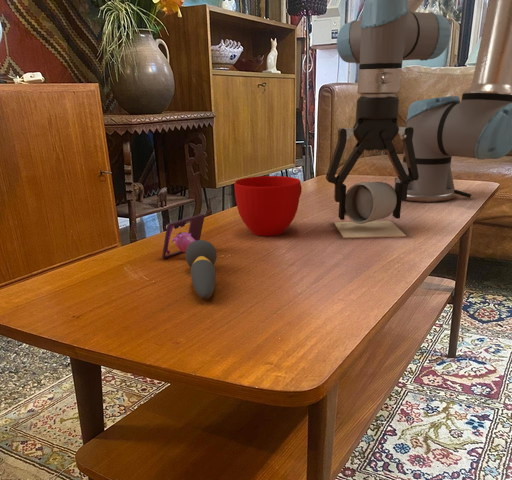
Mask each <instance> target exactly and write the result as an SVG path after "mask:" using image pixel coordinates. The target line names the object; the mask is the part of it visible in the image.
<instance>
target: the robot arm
mask: <svg viewBox="0 0 512 480" xmlns="http://www.w3.org/2000/svg"><path fill="white" fill-rule="evenodd" d="M424 1H425V0H364V2H363V8H362V15H361V18H359V20H356V19H355V20H354V19H353V20H352V21H349V22H346V23H344V24H343V25H342V26H341V27H340V29H339V31H338V33H337V36H336V51H337V53H338V56H339V58H340V59H341V60H342V61H343V62H345V63H348V64H358V65H359V66H358V78H357V94H358V95H359V97H358V98H357V99H356V113H355V121H354V125H353V126H352V127H349V128H344V127H340V128H338V129H337V141H336V142H337V143H336V145H335V148H334V152H333V154H332V157H331V159H330V164H329V166H328V169H327V172H326V175H325V180H326V181H327V182H328V183H330V184H333V185H334V196H333V197H334V199H333V200H334V201H335V202H336V203H338V218H339V220H340V221H345V217H346V215H345V202H346V193H347V185H346V184H345V181H346V179H347V178H348V176H349V174H350V173H351V171H352V170H353V168H354V166H355V165H356V163H357V162H358V161H359V158H360V157H361V156H362V155H363V154H364V152H365V151H367V152H368V151H375V150H377V151H384V152H385V154H386V155H387V157H388V159H389V162H390V163H391V165H392V168H393V170H394V172H395V174H396V175H397V177H394V184H393V186H392V187H393V188H394V190H395V192H396V195H397V205H396V208H395V210H394V211H393V212H392V214H391V215H392V217H393V218H394V219H396V220H397V219H398V220H399V219H401V210H402V202H403V201H409V202H419V203H436V202H445V201H449V200H453V199H454V198H455V195H459V196H462V197H465V198H468V199H471V197H472V194H471V193H469V192H466V191H465V192H464V191H462V190H459V189H456V188H455V183H454V179H453V172H452V158H453V157H458V158H468V159H477V160H482V161H483V160H499V159H501V158H503V157H505V156H506V155H508V154H509V153H510V151H512V0H488V2H487V8H486V13H485V17H484V23H483V27H482V33H481V36H480V37H481V38H480V42H479V46H478V47H479V48H478V52H477V56H476V60H475V61H476V62H475V67H474V71H473V76H472V81H471V84H470V86H469V87H467V88H466V89H465V90H464V91H463V92H462V94H461V99H460V97H459V95H450V96H449V95H448V96H440V97H433V98H425V99H419V100H415V101H413V102H411V103H410V105H409V106H408V110H407V115H406V120H405V126H399V124H398V115H399V114H398V113H399V104H400V99H399V96H398V97H397V94H399V93H400V91H401V81H402V68H403V61H428V60H435V59H437V58H439V57H440V56H441V55H442V54H443V53H444V52H445V51H446V49H447V48H448V45H449V43H450V39H451V33H452V32H451V25H450V22H449V21H448V19H447V18H446V17H445V16H443V15H442V14H437V13H434V11H433V12H432V11H431V12H421V11H417V10H418V9H419V7H420V6H421V5H422V4H423V2H424ZM352 135H353V136H354V138H355V140H356V141H357V142H356V143H355V145H354V147H353V148H352V151H351V153H350V154H349V156H348V157H347V159H346V161H345V162H344V164H343V165H342V167H341V169H340V170H339V172H338V174H337V171H338V168H339V166H340V163H341V160H342V157H343V154H344V151H345V148H346V145H347V141H349V140H350V139H351V136H352ZM397 135H399V138H400V139H401V140H402V147H403V157H402V161H401V160H400V158H399V156H398V153H397V151H396V148H395V145H394V144H393V140H394V139H395V138H396V136H397ZM336 174H337V175H336Z"/></svg>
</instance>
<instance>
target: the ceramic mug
mask: <svg viewBox="0 0 512 480" xmlns="http://www.w3.org/2000/svg"><path fill="white" fill-rule="evenodd" d="M393 187H394V186H392V185H391V184H389V183H388V182H384V181H369V182H357V183H354V184H353V185H351V186H350V187H349V189H347V190H346V202H345V216H347V217H348V218H349V220H350V221H351V222H355V223H358V224H363V223H367V222H372V221H380V220H383V219H386V218H387V217H389V216H391V215H393V211H394V210H395V208H396V205H397V195H396V192H395V190H394V188H393Z"/></svg>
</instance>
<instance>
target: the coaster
mask: <svg viewBox="0 0 512 480" xmlns="http://www.w3.org/2000/svg"><path fill="white" fill-rule="evenodd" d="M333 224H334V225H335V227H336V229H337V230H338V232H339V234H340V236H342V238H343V239H372V238H373V239H375V238H378V239H379V238H406V237H407V235H406V234H405V233H404V231H402V230H401V229H400V228H399V227H398V226H396V224H395V223H393V222H392V221H391V220H375V221H372V222H367V223H363V224H358V223H355V222H353V221H334V222H333Z"/></svg>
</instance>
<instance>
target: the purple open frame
mask: <svg viewBox="0 0 512 480" xmlns="http://www.w3.org/2000/svg"><path fill="white" fill-rule="evenodd" d="M205 216H206V214H204V213H200V214H196V215H194V216H193V215H192V216H189V217H186V218H183V219H180V220H175V221H173V222H169V223H167V224H166V226H165V236H164V241H163V248H162V254H161V258H162V259H163V260H166V259H168V258H171V257H175V256H177V255H180V254H182V253H184V254H186V249H187V247H188V246H189V245H190V244H191V243H192V242H194V241H197V240H201V235H202V231H203V225H204V221H205ZM187 222H189V225H188V232H186V231H184V232H182V231H180V232H179V233H176V235H175V237H173V238H172V240H171V242H172V243H173V245H176V247H177V248H178V249H179V250H178V251H176V252H173V253H172V252H171V251H170V250H169V244H170V239H171V235H172V233H173V230H177V229H179V228H184V227H185V226H186V224H187Z"/></svg>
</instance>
